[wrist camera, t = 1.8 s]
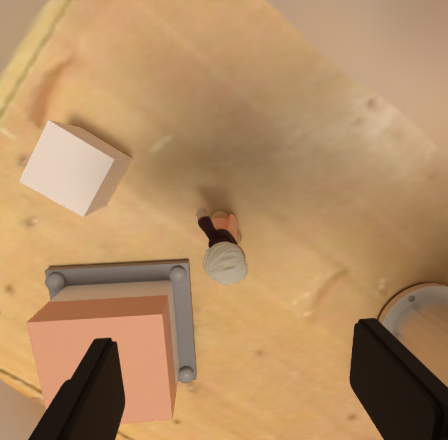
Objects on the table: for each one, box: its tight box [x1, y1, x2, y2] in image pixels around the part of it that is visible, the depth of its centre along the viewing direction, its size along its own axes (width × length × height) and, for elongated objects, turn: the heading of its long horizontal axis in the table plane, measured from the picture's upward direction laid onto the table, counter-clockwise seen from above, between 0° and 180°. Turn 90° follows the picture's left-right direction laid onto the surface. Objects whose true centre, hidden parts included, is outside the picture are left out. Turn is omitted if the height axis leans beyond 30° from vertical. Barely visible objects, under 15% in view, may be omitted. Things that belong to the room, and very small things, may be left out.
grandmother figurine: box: [197, 208, 248, 285], centre depth 25 cm, size 8×4×13 cm, turn 44°
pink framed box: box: [26, 260, 197, 424], centre depth 30 cm, size 16×16×8 cm
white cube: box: [19, 120, 132, 217], centre depth 26 cm, size 6×6×6 cm
